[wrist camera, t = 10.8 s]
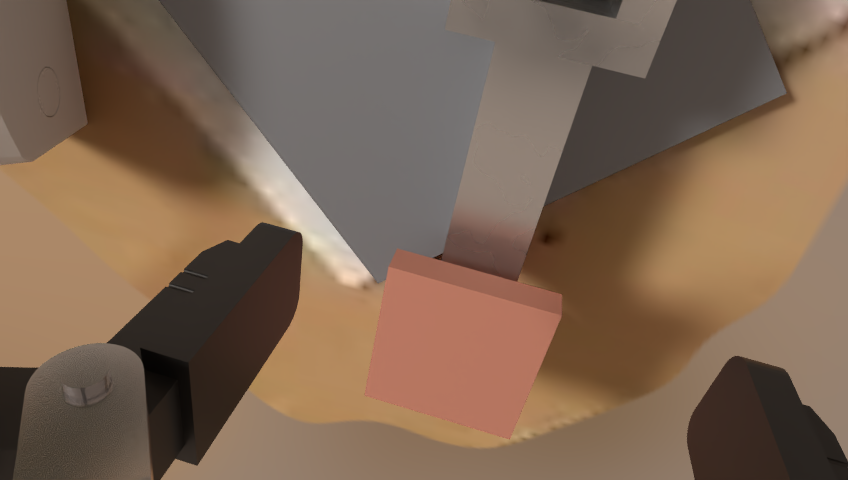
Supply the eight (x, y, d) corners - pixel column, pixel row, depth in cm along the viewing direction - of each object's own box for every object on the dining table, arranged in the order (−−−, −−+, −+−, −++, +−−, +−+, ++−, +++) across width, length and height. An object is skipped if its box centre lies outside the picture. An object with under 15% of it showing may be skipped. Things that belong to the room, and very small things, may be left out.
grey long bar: (511, -197, 18) (495, -228, 14) (703, -157, 17) (748, -176, 13) (421, 224, 27) (394, 283, 23) (547, 258, 26) (544, 326, 22)
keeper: (436, 168, 26) (388, 266, 19) (562, 202, 25) (561, 315, 18) (410, 285, 30) (363, 403, 23) (520, 316, 29) (506, 447, 22)
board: (547, -496, 15) (547, -514, 15) (780, 87, 21) (786, 93, 21) (132, -51, 24) (120, -50, 23) (382, 274, 30) (377, 283, 29)
